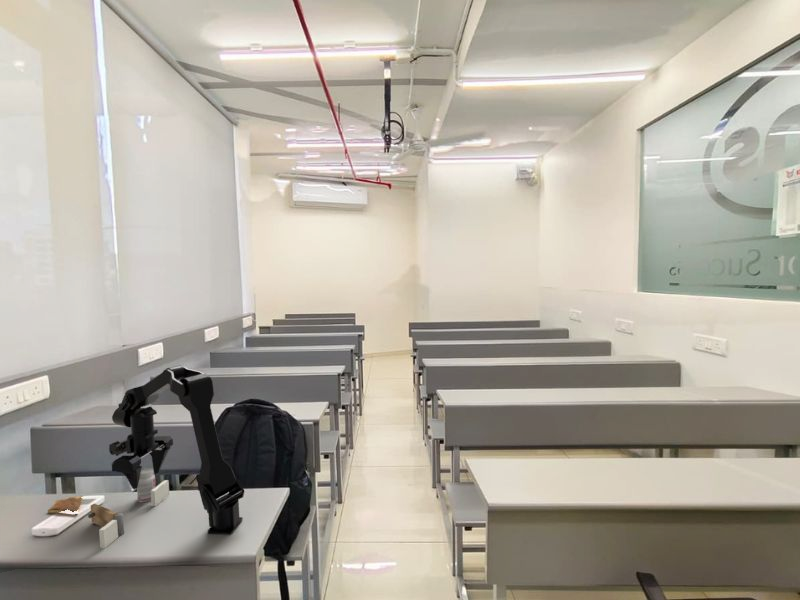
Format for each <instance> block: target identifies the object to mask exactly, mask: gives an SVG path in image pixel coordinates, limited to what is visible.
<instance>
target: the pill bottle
mask: <svg viewBox="0 0 800 600" xmlns="http://www.w3.org/2000/svg"><path fill="white" fill-rule="evenodd" d="M156 484H157V483H156V475H155V473H154V470H153V467H145V468H142V469H141V474H140V479H139V484H138V487H137V489H136V493H137V494H136V497H137V501H138V502H139V503H146V502H149V501H150V502H151V490H152V489H154V488H155V487H156V486H157V485H156Z"/></svg>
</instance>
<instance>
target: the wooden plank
mask: <svg viewBox="0 0 800 600" xmlns="http://www.w3.org/2000/svg"><path fill="white" fill-rule="evenodd" d="M89 507H90V513H88V515H87V517H88V518H89V519H91V523H93V524H95V525H97V526H99V527H101V528H102V527H104V526H105V525H106V524H108V523H109V522H110V521H112V520H114V516H115V515H116V514H118V512H116V511H114V510H112V509H109V508H106V507H104V506H102V505H99V504H96V503H92V504H90V506H89Z"/></svg>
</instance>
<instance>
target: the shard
mask: <svg viewBox="0 0 800 600" xmlns="http://www.w3.org/2000/svg"><path fill="white" fill-rule="evenodd" d="M81 497H84V496H71V497H70V496H69V497H67V498H63V499H58V500H56V501H54V503H53V505H52V506H51V507H50V508H49V509H48V510H47V513H49V514H55V513H57V514H59V513H58V512H61V511H65V510H67V509H68V510H70V511H72V512H74V511H77V510H78V509H79V510H80V507H81V506H80V505H82V501H83V498H81Z"/></svg>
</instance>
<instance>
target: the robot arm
mask: <svg viewBox="0 0 800 600" xmlns="http://www.w3.org/2000/svg"><path fill="white" fill-rule="evenodd" d="M167 389H169V390H170V392H172V393H173V394H175V395H176V396H178V400H179V402H180V405H182V407H183V408H185V409H186V410H187V411H188V412H189V413H190V418H191V423H192V427H193V432H194V436H195V440H196V445H197V449H198V453H199V457H200V462H201V466H202V467H201V469H200V472H199V473H197V474H196V475H195V480H196V484H197V487H198V488H197V490H198V492H199V496H200V498H201V503H202V506H203V509H204V510H205V511H207V514H208V527H210V528H209V529H207V534H219V535H220V534H221V535H222V534H223V535H224V534H225V535H226V534H227V535H228V534H229V535H230V534H232V533H234V531H236V529H237V528H238V526H239V525H240V523H241V522H242V521H243V520H244V519H243V516H242V517H241V516H240V502H239V500H240V499H243V498H244V495H245V489H244V488H243V486H242V485H241V483H240V482H239V480H238V478H237V477H236V476H235V474H234V471H233V468H232V466H231V465H230V464H229V463H228V462H227V461H226V460H224V458H223V455H222V454H223V453H222V450H221V446H220V443H219V437H218V433H217V429H216V425H215V421H214V417H213V412H212V408H211V405H212V402H213V398H214V396H215V392H214V383H213V380H212V377H211V376H209V375H208V374H206V373H203V372H202V371H199V370H195V369H192V368H188V367H186V366H184V365H175V366H171V367H167V368H165V369H164V370H163V371H162V372H161V373H159V374H158V375H157V376H155V377H154V378H152V379H150V380H149V381H147V382H146V383H145V384H144V385H140V386H136V387H133V388H130V389H127V390H126V391H125V393H124V396H123V398H122V400H121V403H118V407H117V408H116V409H115V410H114V412H113V413H112V416H111V420H112V422H113V423H114V424H115V425H117V426H121V427H126V428H130V434H128V435H127V437H126V439H124V440H122V441H119V440H116V441H115V442H112V443H110V444H108V445H109V446H108V447H109V448H108V452H109V454H110V455H111V456H115V457H118V456H120V455H121V454H124V453H126V454H128V455H121V456H120V457H118V458H116V459H114V461H112V463H111V465H110V467H111V472H116V473H122V474H123V475H124V476H125V477H126V479H127V481H128V483H129V484H130V486H131V488H132V489H133V490H137V487H138V484H139V479H140V474H141V470H142V469H143V466H142V465H141V464H142V459H143V458H144V457H146V456H147V455H149V456H151V460H152V461H151V462H152V468H153V474H154V475H155V474H156V475H157V474H159V473H160V470H161V468H162V465H163V463H164V462H165V459H166V457H167V455H168V453H169V451H170V449H171V447H172V446H173V445H174V441H173V440H174V439H173V438H172V437H171V436H170V435H168V436H167V435H156V434H158V429H155V423H154V415H157V413H158V412H157V410H156V409H154V408H153V407H152V406H151V405H153V404H155V402H156V401H157V400H158V399H159V398H160V396H159V395H160V394H162V392H163V393H164V391H166V390H167ZM155 435H156V436H155ZM129 454H130V455H129ZM131 454H132V455H131Z"/></svg>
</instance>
